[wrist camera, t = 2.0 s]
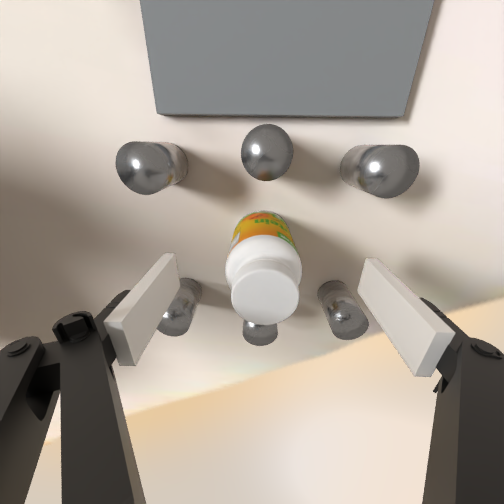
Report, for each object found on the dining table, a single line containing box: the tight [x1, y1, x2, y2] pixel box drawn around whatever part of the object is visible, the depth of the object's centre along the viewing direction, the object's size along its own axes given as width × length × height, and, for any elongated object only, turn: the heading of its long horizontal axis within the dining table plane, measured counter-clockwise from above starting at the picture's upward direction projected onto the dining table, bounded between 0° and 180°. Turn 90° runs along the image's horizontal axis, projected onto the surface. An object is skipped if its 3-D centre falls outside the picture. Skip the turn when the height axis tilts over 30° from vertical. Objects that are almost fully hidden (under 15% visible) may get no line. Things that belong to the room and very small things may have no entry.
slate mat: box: [140, 0, 434, 118], centre depth 14 cm, size 18×12×1 cm, turn 89°
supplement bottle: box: [225, 211, 302, 325], centre depth 17 cm, size 5×5×10 cm
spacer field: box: [116, 124, 419, 346], centre depth 19 cm, size 19×18×5 cm
